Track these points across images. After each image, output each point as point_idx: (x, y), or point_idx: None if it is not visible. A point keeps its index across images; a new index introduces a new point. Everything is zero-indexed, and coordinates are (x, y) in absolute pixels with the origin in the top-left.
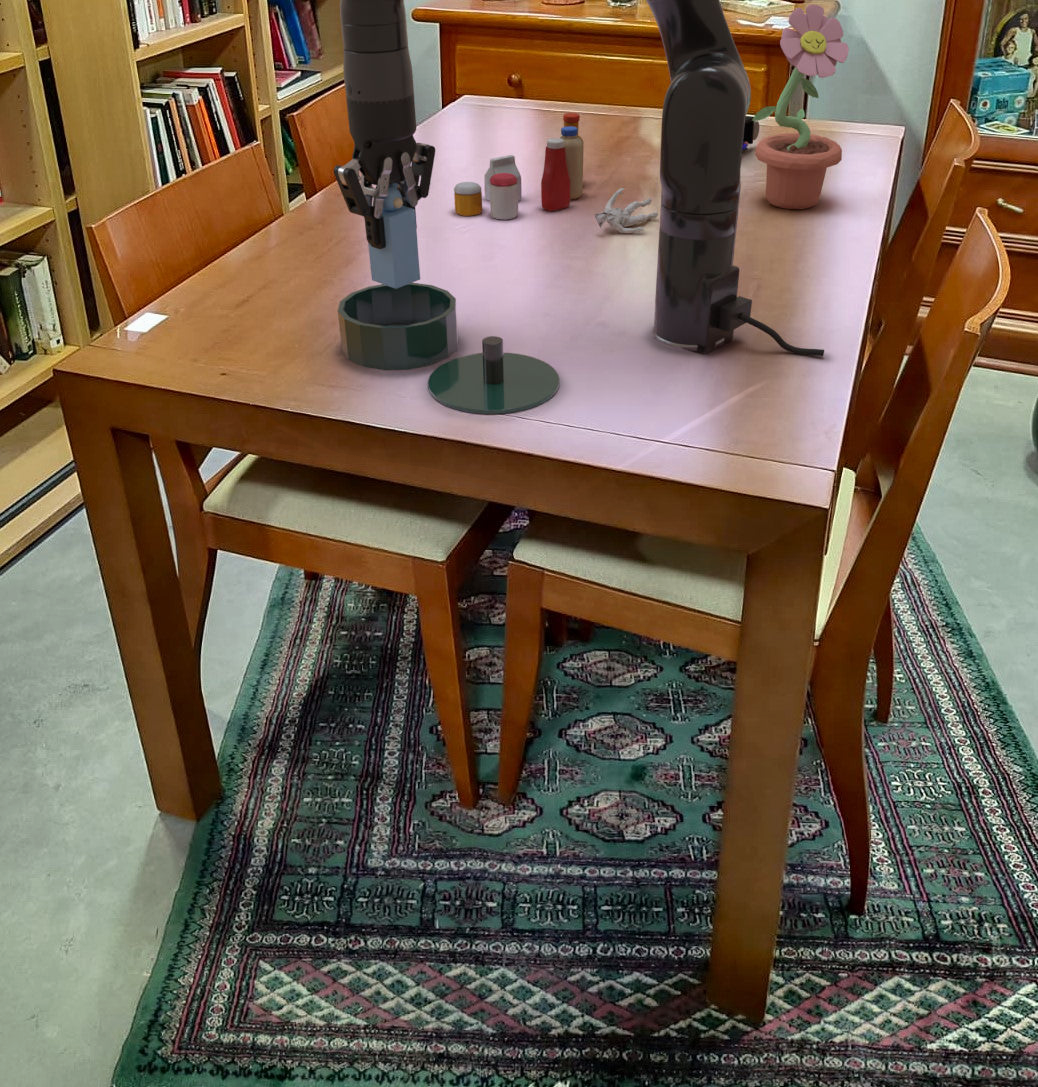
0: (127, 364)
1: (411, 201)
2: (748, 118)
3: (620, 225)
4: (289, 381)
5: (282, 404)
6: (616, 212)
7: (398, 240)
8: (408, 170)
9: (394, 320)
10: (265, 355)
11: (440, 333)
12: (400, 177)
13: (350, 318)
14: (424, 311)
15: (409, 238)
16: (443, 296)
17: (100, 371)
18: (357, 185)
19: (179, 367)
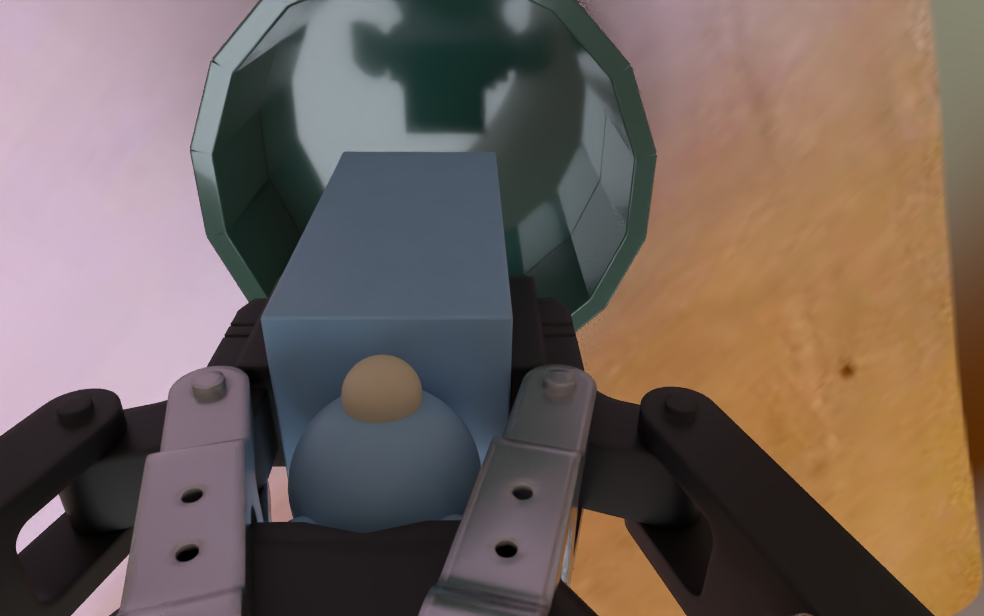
0: (908, 542)
1: (232, 393)
2: None
3: None
4: (796, 220)
5: (927, 119)
6: None
7: (451, 239)
8: (175, 564)
9: None
10: (705, 382)
11: None
12: (272, 549)
13: (633, 223)
14: (266, 215)
15: (362, 236)
16: (219, 144)
17: (962, 551)
18: (821, 578)
19: (867, 464)
